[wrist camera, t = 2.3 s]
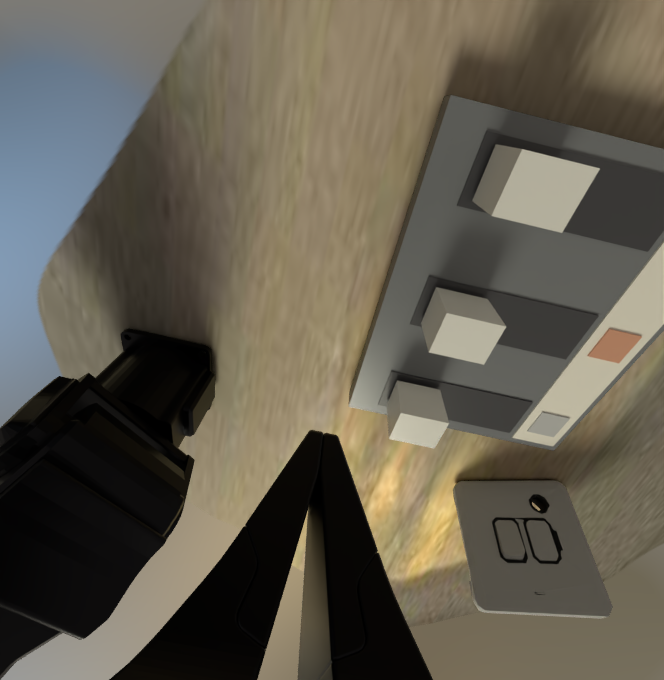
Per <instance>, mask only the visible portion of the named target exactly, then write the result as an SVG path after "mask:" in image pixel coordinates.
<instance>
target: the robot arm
mask: <svg viewBox="0 0 664 680" xmlns="http://www.w3.org/2000/svg"><path fill="white" fill-rule="evenodd" d="M128 335H129V336H128ZM121 340H122V345H123V352H122V353H121V354H120V355H119V356H118V357H117V358H116V359H115V360H114V361H113V362H112V363H111V364H110V365H109V366H108V367H107V368H105V369H104V370H103V371H102V372H101V373H100V374H99V375H98V376H97V377H96V378H95V377H93V376H92V375H91V374H90V373H87V374H86V375H84V376H83V377H81V378H80V379H78V380H77V379H69V378H65V377H61V376H59V377H57V378H56V379H54V380H53V381H52V382H51V383H49V384H48V385H47V386H46V387H44V388H43V389H42V390H41V391H40V392H38V393H37V394H36V395H35V396H33V397H32V398H31V399H30V400H29V401H28V402H27V403H25V404H24V405H23V406H22V407H21V408H20V409H19V410H18V411H17V412H16V413H15V414H14V415H13V416H12V417H11V418H10V419H9V420H8V421H7V422H6V423H5V424H4V425H3V426H2V427H1V428H0V679H1V678H2V677H3V676H4V675H5V674H6V673H7V671H8V670H9V669H10V668H11V667H12V666H13V665H14V664H15V663H16V662H17V661H18V660H20V659H22V658H23V657H25V656H26V655H28V654H29V653H31V652H33V651H34V650H36V649H38V648H39V647H41V646H42V645H44V644H46V643H47V642H49V641H50V640H52V639H53V638H55V637H57V636H58V635H60V634H62V633H65V634H68V635H70V636H72V637H75V638H77V639H79V640H81V639H84V638H86V637H87V636H89V635H90V634H91V633H92V632H93V631H95V630H96V629H97V628H98V627H99V626H100V625H102V624H103V623H104V622H105V621H106V620H107V619H108V618H109V617H110V615H111V614H112V613H113V611H114V610H115V608H116V606H117V605H118V603H119V601H120V600H121V598H122V597H123V595H124V594H125V592H126V590H127V589H128V588H129V586H130V584H131V583H132V582H133V580H134V579H135V577H136V576H137V574H138V573H139V572H140V571H141V569H142V568H143V567H144V566H145V564H146V563H147V562H148V561H149V559H150V558H151V557H152V556H153V555H154V554H155V553H156V552H157V551H158V550H159V549H160V548H161V547H162V546H163V545H164V544H165V542H166V539H167V538H168V537H169V535H170V534H171V533H172V531H173V529H174V528H175V526H176V525H177V523H178V521H179V519H180V517H181V514H182V511H183V507H184V503H185V499H186V495H187V491H188V486H189V482H190V478H191V473H192V469H193V465H194V459H193V458H192V457H191V456H189V455H186V454H185V453H183V452H182V451H181V450H180V449H179V448H178V447H179V446H180V444H181V442H182V441H183V439H184V437H185V436H192V435H194V434H195V432H196V430H197V428H198V427H199V425H200V423H201V421H202V419H203V417H204V416H205V414H206V412H207V410H209V409H210V407H211V405H212V401H213V399H214V398H215V374H214V372H212V350H211V349H210V348H209V347H208V346H206V345H202V344H197V343H193V342H188V341H183V340H179V339H174V338H170V337H165V336H161V335H156V334H151V333H147V332H142V331H138V330H133V329H125V330H124V331H123V332H122V333H121ZM202 351H204V352H205V353H203V352H202ZM308 507H309V508H308ZM307 511H308V520H307V536H306V552H305V569H304V585H303V601H302V617H301V618H302V619H301V633H300V650H299V666H298V680H433V679H432V677H431V674H430V672H429V670H428V668H427V666H426V664H425V661H424V659H423V657H422V655H421V653H420V651H419V648H418V646H417V644H416V642H415V640H414V638H413V636H412V633H411V631H410V629H409V627H408V625H407V622H406V620H405V618H404V616H403V614H402V611H401V609H400V607H399V604H398V602H397V600H396V597H395V595H394V593H393V590H392V588H391V585H390V582H389V580H388V577H387V575H386V572H385V569H384V566H383V564H382V561H381V558H380V555H379V553H377V551H378V550H377V547H376V544H375V541H374V538H373V535H372V532H371V529H370V527H369V524H368V521H367V518H366V515H365V512H364V509H363V507H362V504H361V501H360V498H359V495H358V492H357V489H356V486H355V484H354V481H353V478H352V475H351V472H350V469H349V466H348V464H347V461H346V458H345V455H344V452H343V449H342V446H341V443H340V441H339V438H338V436H337V435H334V434H329V433H324V435H323V433H322V432H319V431H315V430H310V431H309V432H308V434H307V435H306V436H305V438H304V439H303V441H302V442H301V444H300V445H299V447H298V448H297V450H296V451H295V453H294V454H293V455H292V457H291V458H290V460H289V461H288V463H287V464H286V466H285V467H284V469H283V470H282V472H281V473H280V475H279V476H278V477H277V479H276V480H275V482H274V483H273V485H272V486H271V488H270V489H269V491H268V492H267V494H266V495H265V496H264V498H263V499H262V501H261V502H260V504H259V505H258V507H257V508H256V510H255V511H254V513H253V514H252V516H251V517H250V518H249V520H248V521H247V523H246V525H245V527H243V528H242V530H241V531H240V533H239V534H238V536H237V537H236V539H235V540H234V542H233V543H232V544H231V546H230V547H229V548H228V550H227V551H226V552H225V554H224V555H223V557H222V558H221V559H220V560H219V562H218V563H217V564H216V565H215V567H214V568H213V569H212V570H211V572H210V573H209V574H208V575H207V576H206V578H205V579H204V580H203V581H202V582H201V584H200V585H199V586H198V587H197V588H196V589H195V591H194V592H193V593H192V594H191V595H190V596H189V597H188V599H187V600H186V601H185V602H184V603H183V604H182V606H181V607H180V608H179V609H178V610H177V611H176V613H175V614H174V615H173V616H172V617H171V618H170V620H169V621H168V622H167V623H166V624H165V625H164V626H163V628H162V629H161V630H160V631H159V632H158V633H157V634H156V635H155V637H154V638H153V639H152V640H151V641H150V642H149V643H148V644H147V645H146V646H145V647H144V648H143V649H142V650H141V651H140V652H139V654H137V655H136V656H135V657H134V658H133V659H132V660H131V661H130V663H128V664H127V665H126V666H125V667H124V668H122V669H121V670H120V671H119V672H118V673H117V674H115V675H114V676H113V677H112V678H111V679H110V680H257V678H258V675H259V671H260V668H261V665H262V662H263V658H264V655H265V651H266V648H267V644H268V641H269V638H270V635H271V631H272V628H273V625H274V621H275V618H276V615H277V611H278V608H279V605H280V601H281V598H282V595H283V591H284V588H285V584H286V581H287V578H288V574H289V571H290V568H291V564H292V561H293V558H294V554H295V551H296V548H297V544H298V541H299V538H300V534H301V531H302V528H303V524H304V521H305V518H306V514H307Z"/></svg>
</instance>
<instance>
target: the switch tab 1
mask: <svg viewBox="0 0 664 680" xmlns="http://www.w3.org/2000/svg"><path fill="white" fill-rule="evenodd" d="M387 418H388V433H389V439H392V440H397V441H401V442H406V443H411V444H416V445H420V446H425V447H430V448H435V446H436V445H437V443H438V441H439V440H440V438H441V436H442V435H443V433H444V431H445V430H446V428H447V426H448V424H449V421H448V417H447V414H446V410H445V406H444V403H443V399H442V395H441V391H440V390H439V389H434V388H430V387H425V386H420V385H416V384H411V383H407V382H402V381H398V380H397V382H396V384H395V387H394V389H393V391H392V394H391V396H390V399H389V401H388V403H387Z"/></svg>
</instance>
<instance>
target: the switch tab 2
mask: <svg viewBox="0 0 664 680" xmlns="http://www.w3.org/2000/svg"><path fill="white" fill-rule="evenodd" d="M421 325H422V329H423V333H424V336H425V340H426V344H427V348H428V352H429V353H434V354H438V355H443V356H447V357H452V358H456V359H461V360H465V361H470V362H474V363H479V364H483V365H484V364H485V362H486V360H487V359H488V357H489V355H490V354H491V352H492V350H493V348H494V347H495V345H496V343H497V342H498V340H499V338H500V337H501V335H502V333H503V332H504V330H505V328H506V325H505V324H504V322H503V321H502V319H501V318H500V316H499V315H498V313H497V312H496V310H495V309H494V308H493V306H492V305H491V303H490V302H489V300H488V299H485V298H481V297H477V296H472V295H468V294H464V293H459V292H455V291H451V290H446V289H442V288H438V287H436V289H435V291H434V293H433V296H432V298H431V300H430V303H429V305H428V308H427V310H426V312H425V315H424V317H423V320H422V322H421Z"/></svg>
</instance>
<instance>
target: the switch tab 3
mask: <svg viewBox="0 0 664 680" xmlns="http://www.w3.org/2000/svg"><path fill="white" fill-rule="evenodd" d="M599 170H600V168H596V167H592V166H588V165H584V164H580V163H576V162H572V161H568V160H564V159H560V158H556V157H552V156H548V155H544V154H540V153H536V152H532V151H528V150H524V149H519V148H514V147H508V146H503V145H497V144H496V145H495V147H494V150H493V152H492V155H491V157H490V159H489V162H488V164H487V167H486V169H485V171H484V174H483V176H482V178H481V181H480V183H479V186H478V188H477V190H476V193H475V195H474V198H473V200H472V201H473V202H474V203H475V204H477V205H478V206H479V207H480V208H482V209H483V210H484V211H486V212H487V213H488V214H490V215H491V216H494V217H498V218H502V219H506V220H510V221H514V222H519V223H523V224H527V225H531V226H535V227H539V228H543V229H548V230H552V231H556V232H560V233H562V232H563V230H564V229H565V227H566V225H567V224H568V222H569V220H570V219H571V217H572V215H573V213H574V212H575V210H576V208H577V207H578V205H579V203H580V202H581V200H582V198H583V197H584V195H585V193H586V192H587V190H588V188H589V186H590V185H591V183H592V181H593V180H594V178H595V176H596V175H597V173H598V171H599Z"/></svg>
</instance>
